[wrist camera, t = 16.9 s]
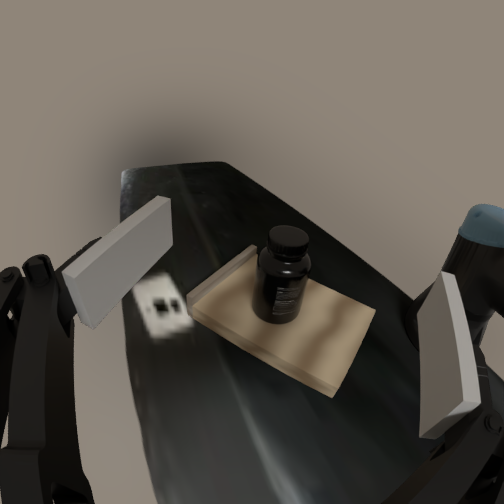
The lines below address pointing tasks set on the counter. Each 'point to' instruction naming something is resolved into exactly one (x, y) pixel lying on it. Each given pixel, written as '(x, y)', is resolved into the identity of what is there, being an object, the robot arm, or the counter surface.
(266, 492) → the counter surface
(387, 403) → the counter surface
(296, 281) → the supplement bottle
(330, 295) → the shelf board
